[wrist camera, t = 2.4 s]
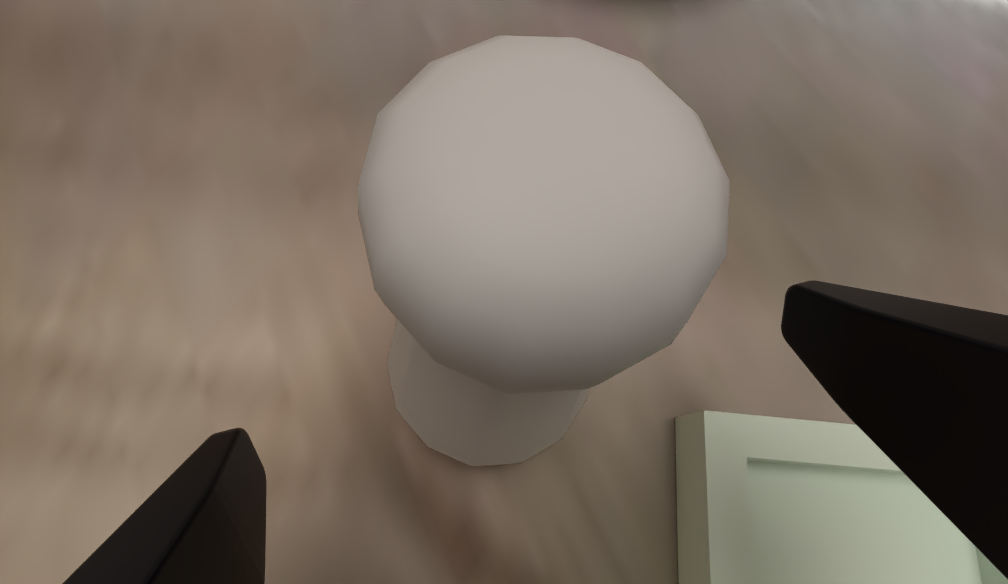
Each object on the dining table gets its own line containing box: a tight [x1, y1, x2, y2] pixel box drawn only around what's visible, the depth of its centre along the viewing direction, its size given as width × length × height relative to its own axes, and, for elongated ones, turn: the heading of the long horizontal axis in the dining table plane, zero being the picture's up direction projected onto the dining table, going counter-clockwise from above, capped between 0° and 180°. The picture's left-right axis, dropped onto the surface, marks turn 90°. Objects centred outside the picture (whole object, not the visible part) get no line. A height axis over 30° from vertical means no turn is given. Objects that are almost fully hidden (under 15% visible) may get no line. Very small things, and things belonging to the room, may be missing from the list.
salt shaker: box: [358, 35, 730, 466], centre depth 12 cm, size 6×6×13 cm
